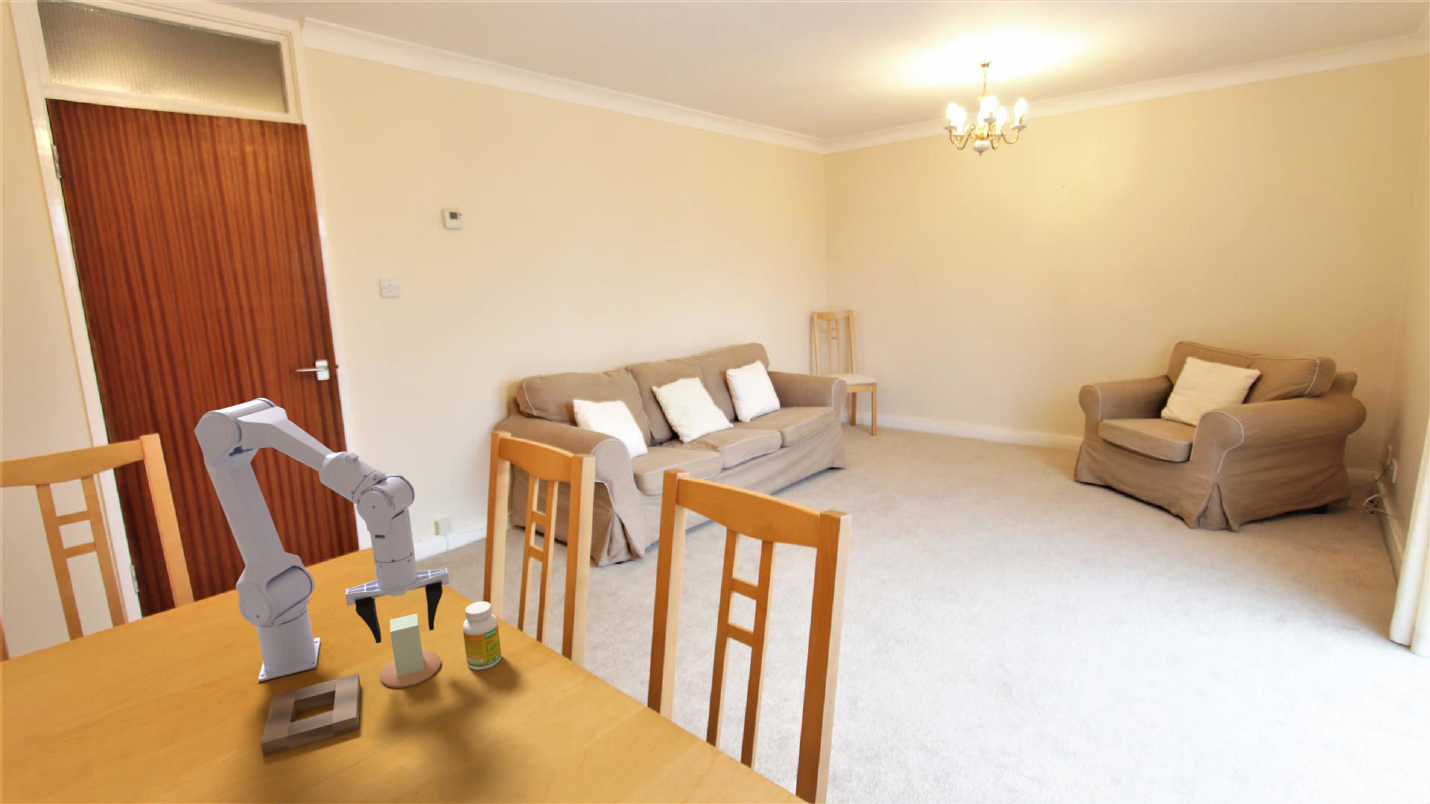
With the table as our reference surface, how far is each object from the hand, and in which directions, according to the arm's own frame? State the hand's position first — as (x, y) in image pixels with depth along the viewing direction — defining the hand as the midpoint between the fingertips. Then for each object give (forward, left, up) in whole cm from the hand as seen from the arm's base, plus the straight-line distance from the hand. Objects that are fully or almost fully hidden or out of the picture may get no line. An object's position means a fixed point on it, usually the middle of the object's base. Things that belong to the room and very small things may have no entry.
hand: (405, 633), depth 108 cm
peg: (0, 0, -6) cm, 6 cm away
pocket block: (+6, -13, -7) cm, 16 cm away
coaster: (0, 0, -7) cm, 7 cm away
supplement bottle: (+3, +11, -7) cm, 13 cm away
